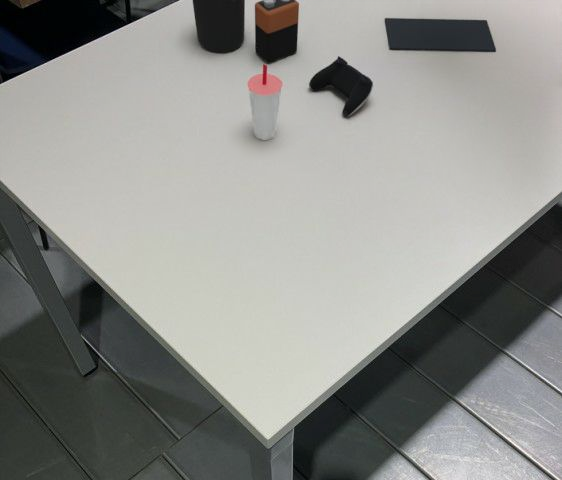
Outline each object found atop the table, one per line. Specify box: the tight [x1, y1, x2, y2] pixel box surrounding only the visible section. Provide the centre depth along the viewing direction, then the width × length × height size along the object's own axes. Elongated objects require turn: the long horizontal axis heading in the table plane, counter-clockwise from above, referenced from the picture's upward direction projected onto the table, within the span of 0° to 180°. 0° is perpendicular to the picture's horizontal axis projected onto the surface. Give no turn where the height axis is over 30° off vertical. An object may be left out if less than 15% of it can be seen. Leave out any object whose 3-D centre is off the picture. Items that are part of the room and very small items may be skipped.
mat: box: [384, 17, 497, 53], centre depth 118 cm, size 20×10×1 cm, turn 90°
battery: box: [254, 0, 300, 64], centre depth 110 cm, size 4×7×10 cm, turn 125°
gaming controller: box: [308, 55, 374, 118], centre depth 107 cm, size 11×4×7 cm
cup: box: [247, 64, 283, 141], centre depth 98 cm, size 5×5×12 cm
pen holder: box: [192, 0, 246, 54], centre depth 112 cm, size 9×9×10 cm
